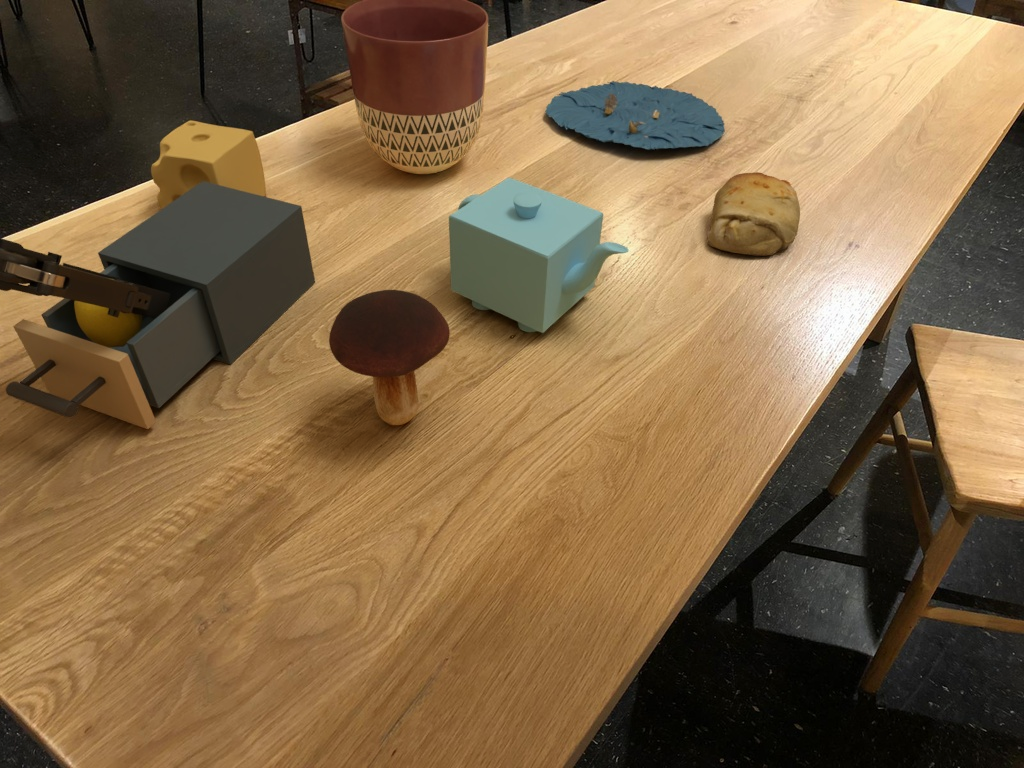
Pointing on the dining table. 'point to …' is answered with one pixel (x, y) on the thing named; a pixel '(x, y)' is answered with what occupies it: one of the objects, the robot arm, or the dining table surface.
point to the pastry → (754, 215)
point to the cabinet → (225, 257)
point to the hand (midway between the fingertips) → (138, 298)
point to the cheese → (207, 161)
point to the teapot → (526, 252)
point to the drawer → (118, 356)
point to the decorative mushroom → (389, 346)
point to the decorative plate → (638, 115)
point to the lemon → (106, 325)
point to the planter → (418, 78)
